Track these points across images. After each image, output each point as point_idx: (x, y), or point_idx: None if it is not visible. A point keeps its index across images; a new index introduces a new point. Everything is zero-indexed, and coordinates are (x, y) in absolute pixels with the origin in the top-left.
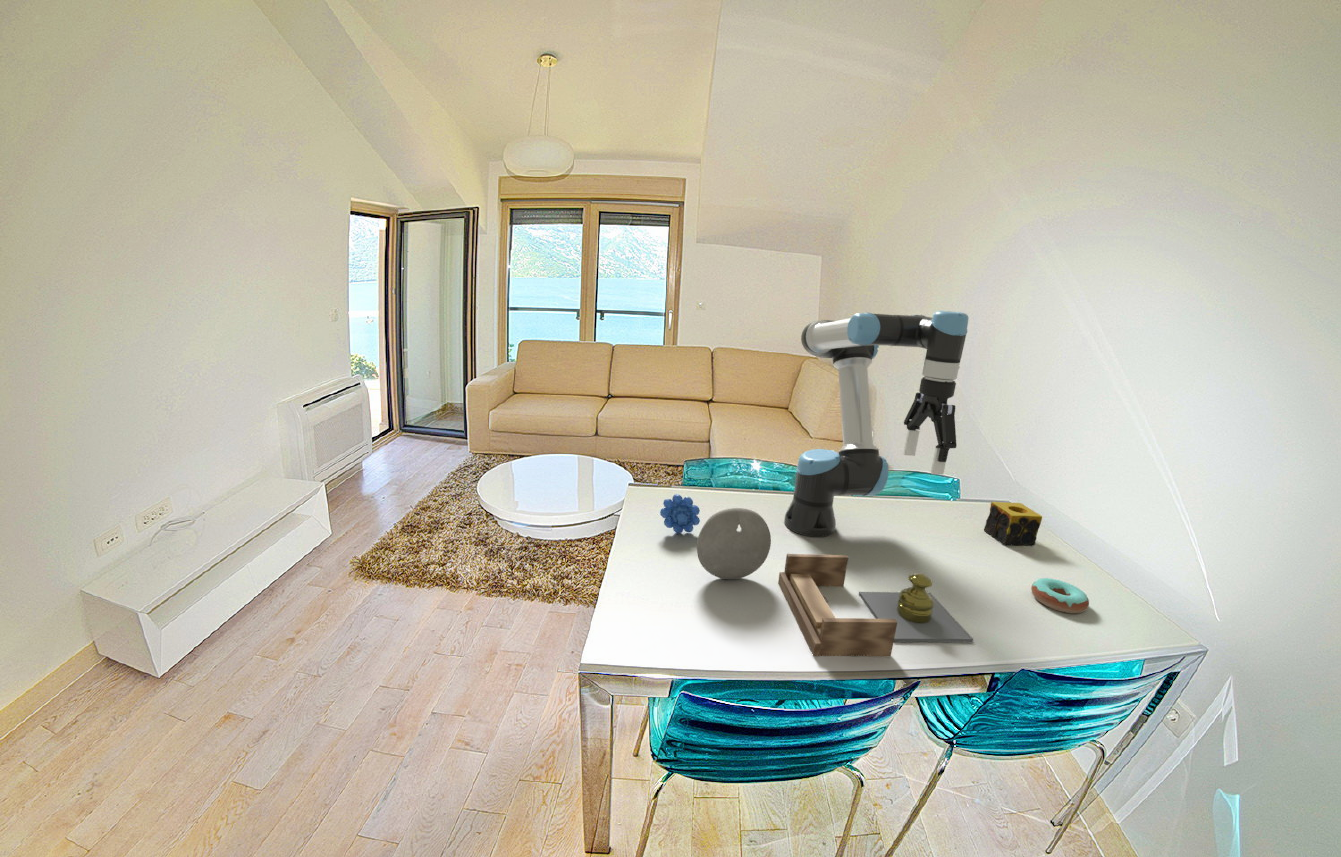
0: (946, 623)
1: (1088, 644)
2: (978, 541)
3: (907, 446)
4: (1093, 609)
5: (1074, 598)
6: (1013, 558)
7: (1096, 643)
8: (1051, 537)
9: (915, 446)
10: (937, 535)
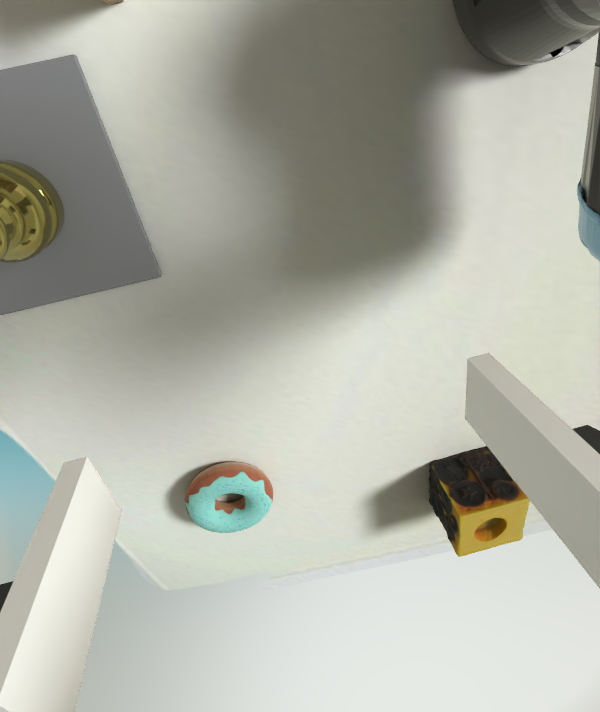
0: (17, 279)
1: None
2: (443, 426)
3: (507, 408)
4: None
5: (197, 517)
6: (378, 464)
7: None
8: None
9: (504, 460)
10: None
